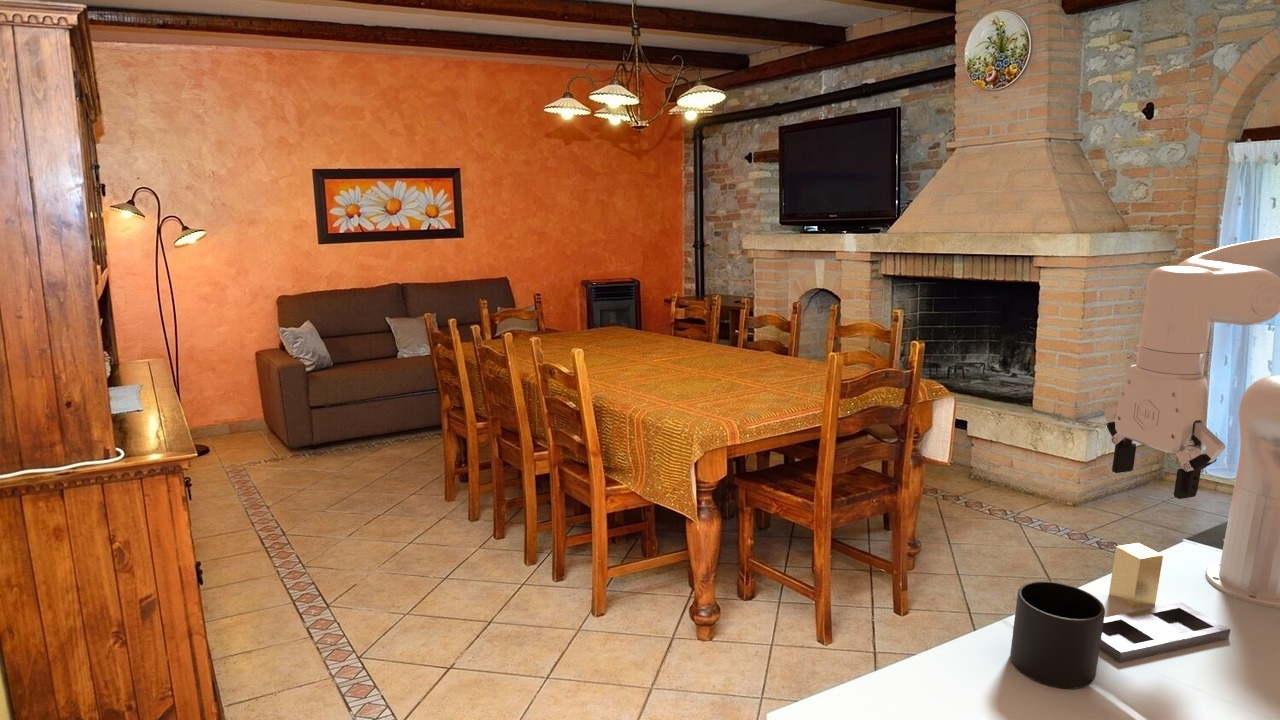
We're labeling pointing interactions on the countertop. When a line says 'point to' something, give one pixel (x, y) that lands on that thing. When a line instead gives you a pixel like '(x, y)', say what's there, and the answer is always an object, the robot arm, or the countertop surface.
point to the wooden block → (1135, 575)
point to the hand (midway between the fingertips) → (1152, 483)
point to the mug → (1057, 634)
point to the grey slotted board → (1158, 632)
